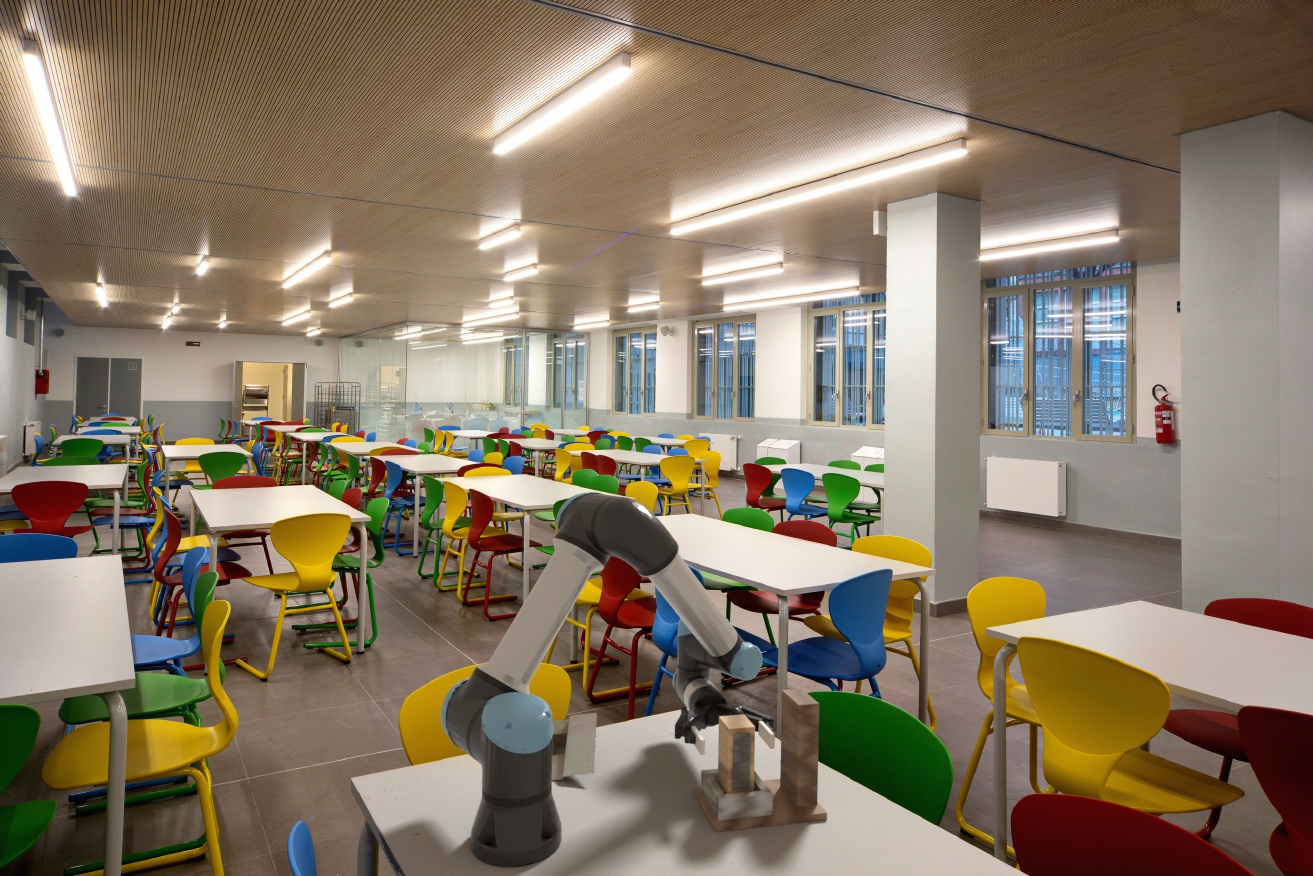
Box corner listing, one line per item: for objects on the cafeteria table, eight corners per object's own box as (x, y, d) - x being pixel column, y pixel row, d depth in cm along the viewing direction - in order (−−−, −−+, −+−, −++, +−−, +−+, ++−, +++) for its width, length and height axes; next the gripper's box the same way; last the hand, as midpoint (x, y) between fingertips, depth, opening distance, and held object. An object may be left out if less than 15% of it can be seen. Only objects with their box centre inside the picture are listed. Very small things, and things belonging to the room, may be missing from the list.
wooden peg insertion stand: (715, 832, 132) (717, 718, 132) (693, 793, 146) (695, 690, 145) (826, 819, 137) (829, 709, 137) (795, 783, 151) (797, 683, 150)
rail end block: (727, 812, 137) (729, 729, 136) (717, 795, 143) (718, 716, 143) (754, 809, 138) (755, 727, 137) (742, 793, 144) (744, 714, 144)
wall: (604, 792, 154) (605, 722, 166) (595, 773, 149) (597, 702, 160) (525, 800, 156) (531, 730, 167) (513, 782, 150) (521, 711, 161)
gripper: (760, 716, 164) (800, 759, 143) (647, 724, 158) (672, 770, 138) (761, 681, 164) (801, 719, 143) (648, 689, 158) (673, 729, 138)
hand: (738, 744), depth 140 cm, fingers open, 13 cm apart
